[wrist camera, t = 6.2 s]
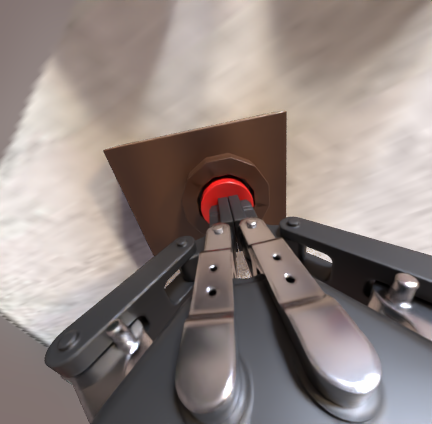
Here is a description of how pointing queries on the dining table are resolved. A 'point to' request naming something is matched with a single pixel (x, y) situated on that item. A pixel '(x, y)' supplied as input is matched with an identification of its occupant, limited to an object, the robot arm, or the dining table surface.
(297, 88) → the dining table surface
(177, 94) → the dining table surface
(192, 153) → the switch block
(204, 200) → the light button
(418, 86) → the dining table surface
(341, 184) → the dining table surface
